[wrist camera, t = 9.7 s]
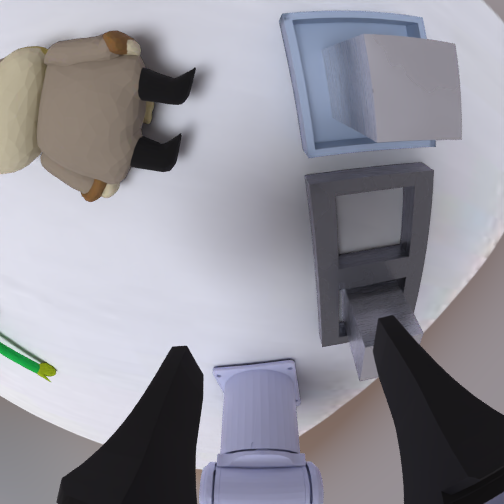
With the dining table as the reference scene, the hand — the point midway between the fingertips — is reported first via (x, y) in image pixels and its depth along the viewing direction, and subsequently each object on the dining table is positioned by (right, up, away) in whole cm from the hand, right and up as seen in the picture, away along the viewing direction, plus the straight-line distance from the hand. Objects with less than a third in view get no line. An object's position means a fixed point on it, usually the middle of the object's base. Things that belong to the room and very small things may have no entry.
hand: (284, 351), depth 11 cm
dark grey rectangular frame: (+7, +3, +10) cm, 13 cm away
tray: (+5, +13, +3) cm, 15 cm away
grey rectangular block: (+8, 0, +12) cm, 14 cm away
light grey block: (+5, +13, +3) cm, 14 cm away
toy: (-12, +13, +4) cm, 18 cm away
